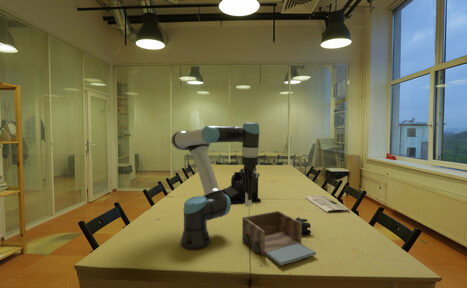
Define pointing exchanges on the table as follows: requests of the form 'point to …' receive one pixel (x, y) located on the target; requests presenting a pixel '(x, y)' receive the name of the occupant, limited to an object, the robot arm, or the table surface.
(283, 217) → the box
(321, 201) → the newspaper
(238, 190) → the typewriter
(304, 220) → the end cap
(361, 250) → the table surface
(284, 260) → the panel
